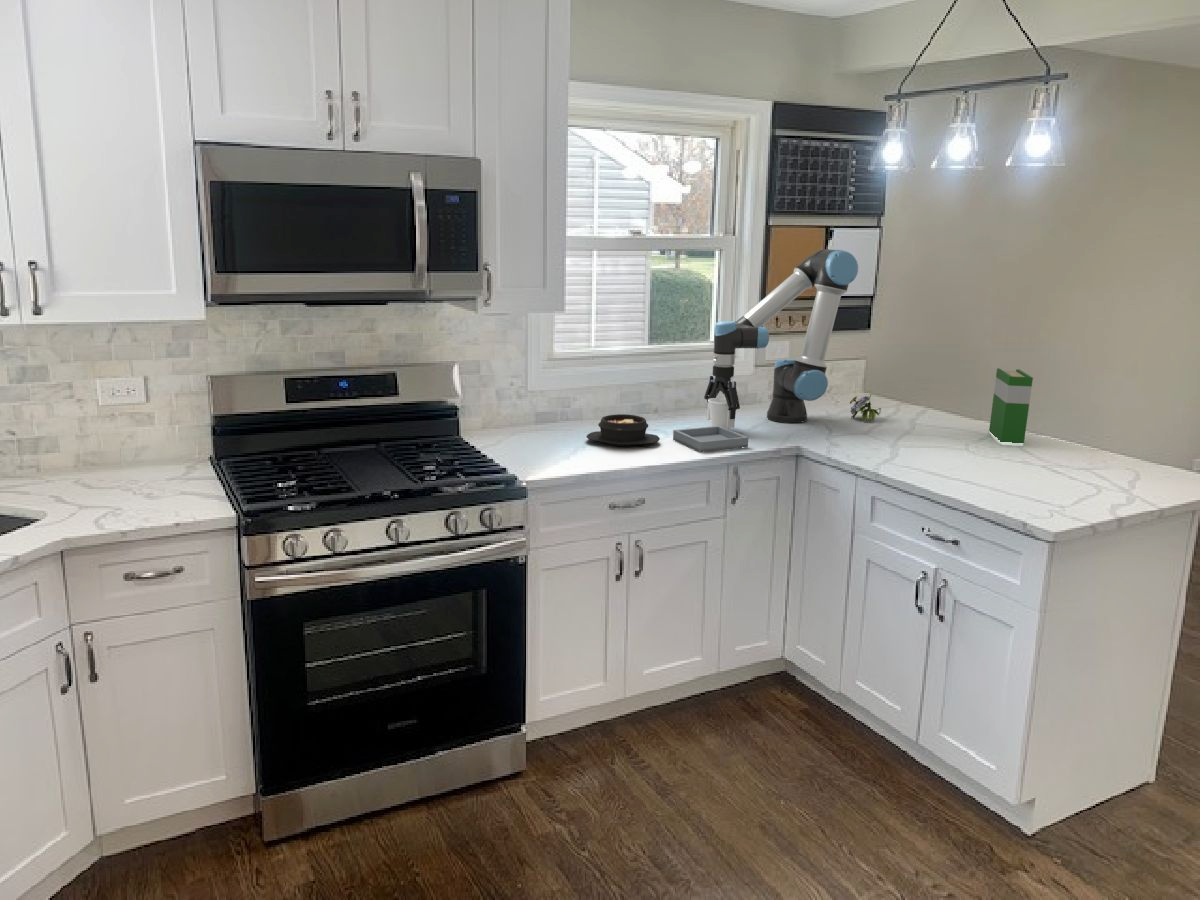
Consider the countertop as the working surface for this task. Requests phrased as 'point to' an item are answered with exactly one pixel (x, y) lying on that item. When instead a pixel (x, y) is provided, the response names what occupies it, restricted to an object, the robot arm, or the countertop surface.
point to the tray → (710, 438)
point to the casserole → (623, 431)
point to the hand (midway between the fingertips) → (720, 423)
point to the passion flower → (861, 406)
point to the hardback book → (1010, 405)
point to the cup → (718, 412)
